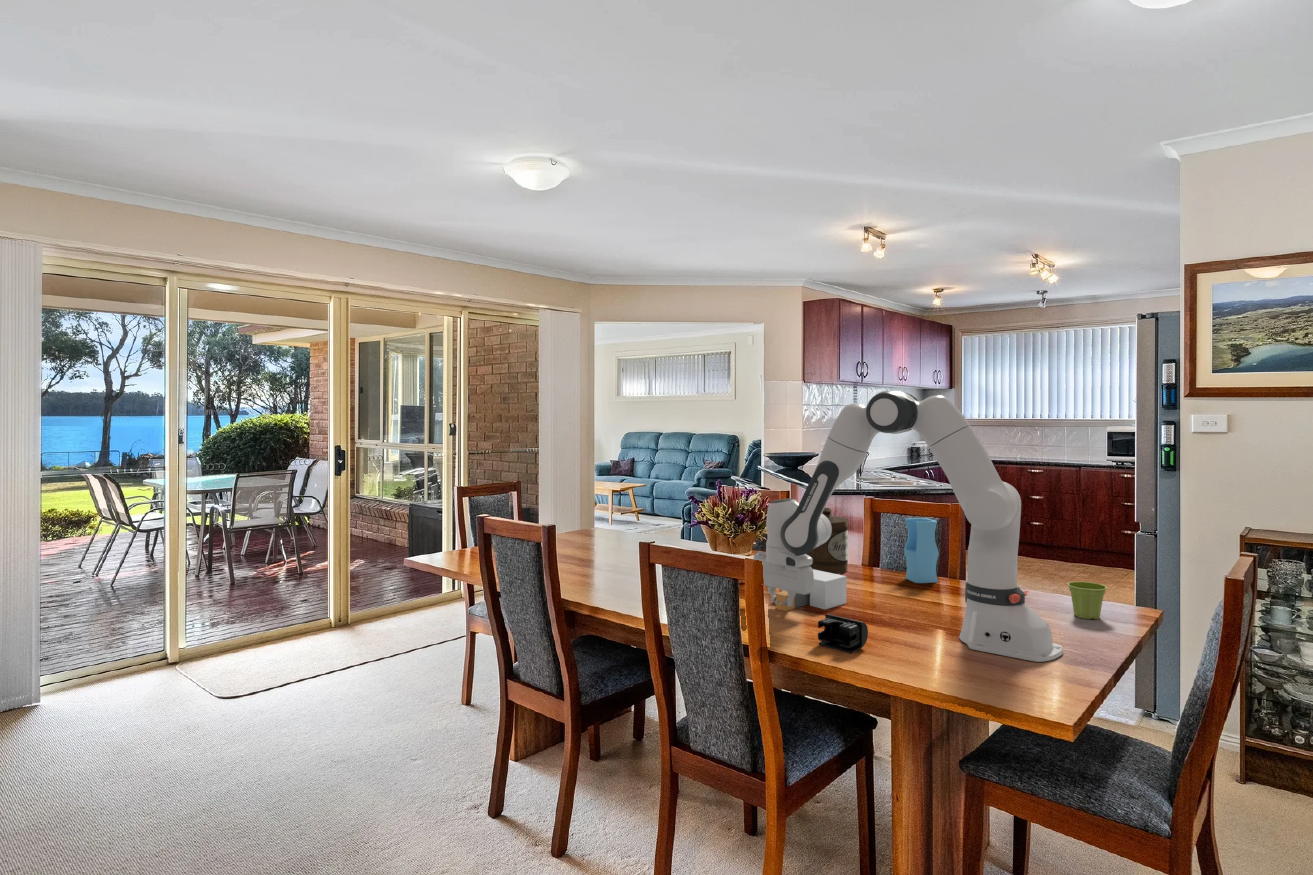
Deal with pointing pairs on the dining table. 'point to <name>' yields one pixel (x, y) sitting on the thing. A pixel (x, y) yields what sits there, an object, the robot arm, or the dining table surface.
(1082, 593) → the plant pot
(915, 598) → the dining table surface
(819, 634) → the end cap
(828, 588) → the block
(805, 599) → the square rod
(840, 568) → the wooden container
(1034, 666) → the dining table surface
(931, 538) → the vase
